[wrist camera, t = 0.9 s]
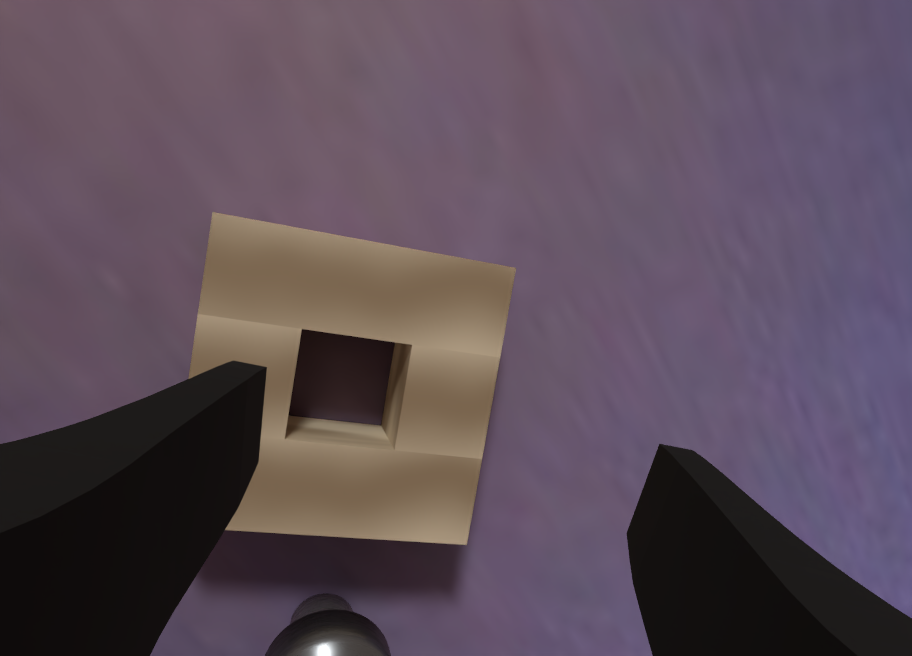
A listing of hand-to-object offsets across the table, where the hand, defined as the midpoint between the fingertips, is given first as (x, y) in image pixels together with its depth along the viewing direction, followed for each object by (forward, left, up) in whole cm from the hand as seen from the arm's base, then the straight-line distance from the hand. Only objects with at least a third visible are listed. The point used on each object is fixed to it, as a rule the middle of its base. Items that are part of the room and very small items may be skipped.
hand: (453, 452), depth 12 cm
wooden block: (-2, 0, -19) cm, 19 cm away
